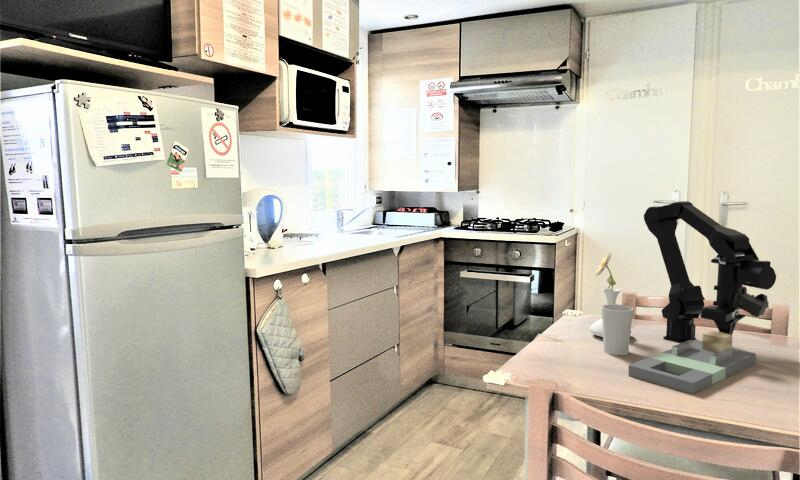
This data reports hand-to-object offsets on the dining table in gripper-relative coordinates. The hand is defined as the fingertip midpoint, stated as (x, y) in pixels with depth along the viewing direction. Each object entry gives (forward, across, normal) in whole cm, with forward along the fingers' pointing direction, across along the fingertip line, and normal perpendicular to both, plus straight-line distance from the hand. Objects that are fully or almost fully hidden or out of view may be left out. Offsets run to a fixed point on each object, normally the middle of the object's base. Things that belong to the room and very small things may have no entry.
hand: (726, 341), depth 152 cm
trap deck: (+4, -17, 0) cm, 18 cm away
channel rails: (+1, -13, 0) cm, 13 cm away
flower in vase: (+4, -8, +29) cm, 30 cm away
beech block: (+1, -5, 0) cm, 5 cm away
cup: (+4, -19, +20) cm, 28 cm away
